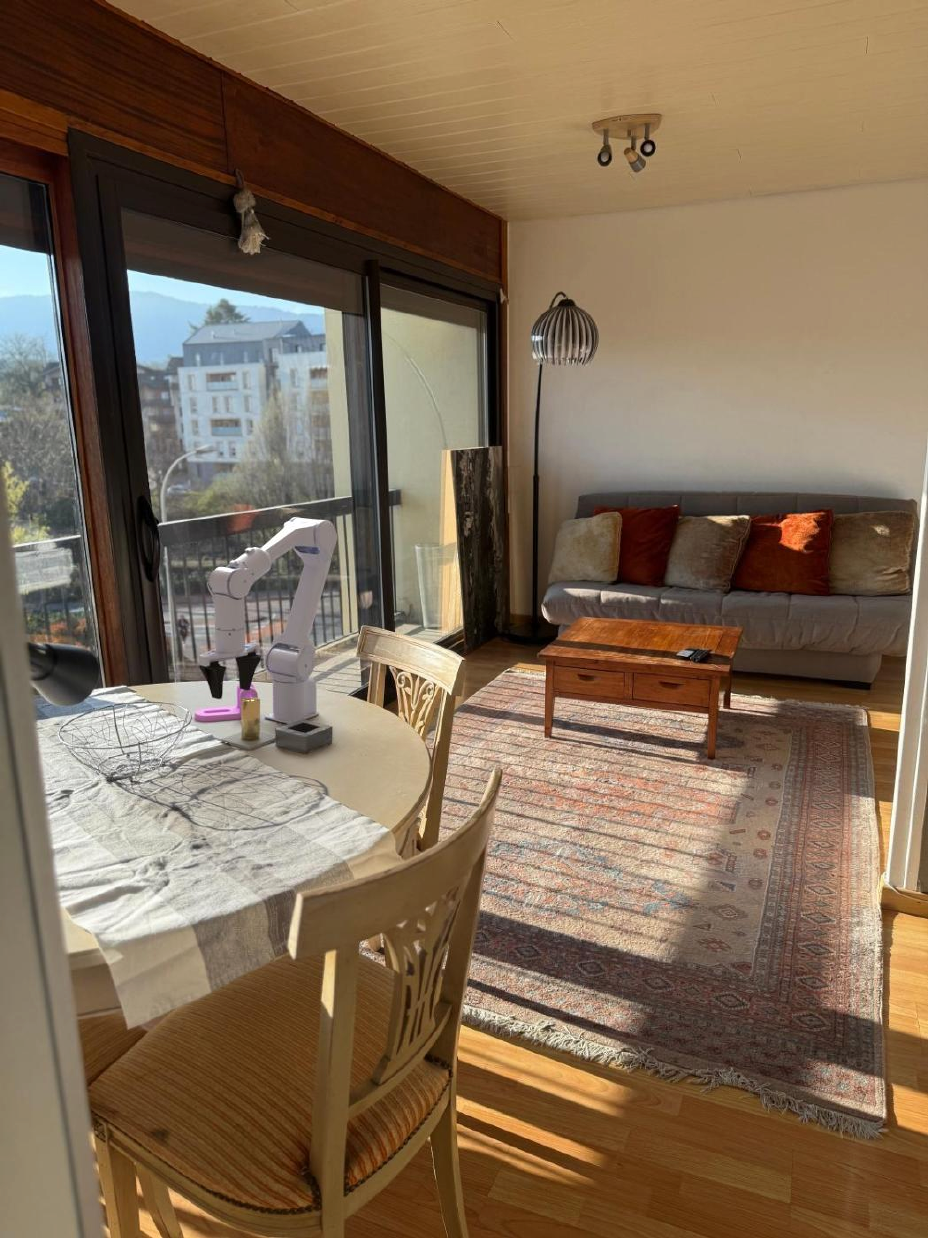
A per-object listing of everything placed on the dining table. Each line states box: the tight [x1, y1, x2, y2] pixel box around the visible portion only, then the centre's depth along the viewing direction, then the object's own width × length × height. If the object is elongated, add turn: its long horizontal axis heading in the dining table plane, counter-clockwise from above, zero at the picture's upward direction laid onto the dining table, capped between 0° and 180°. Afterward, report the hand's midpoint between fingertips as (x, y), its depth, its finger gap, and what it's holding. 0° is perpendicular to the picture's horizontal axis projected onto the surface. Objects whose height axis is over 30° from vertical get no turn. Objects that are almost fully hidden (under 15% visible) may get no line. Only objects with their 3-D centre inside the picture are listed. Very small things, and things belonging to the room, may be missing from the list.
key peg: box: [240, 697, 261, 741], centre depth 175 cm, size 4×4×8 cm
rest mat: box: [220, 731, 275, 751], centre depth 176 cm, size 8×8×1 cm
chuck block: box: [274, 719, 333, 755], centre depth 175 cm, size 8×8×4 cm
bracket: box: [194, 683, 259, 722], centre depth 191 cm, size 13×6×7 cm, turn 112°
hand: (231, 693), depth 175 cm, fingers open, 7 cm apart
